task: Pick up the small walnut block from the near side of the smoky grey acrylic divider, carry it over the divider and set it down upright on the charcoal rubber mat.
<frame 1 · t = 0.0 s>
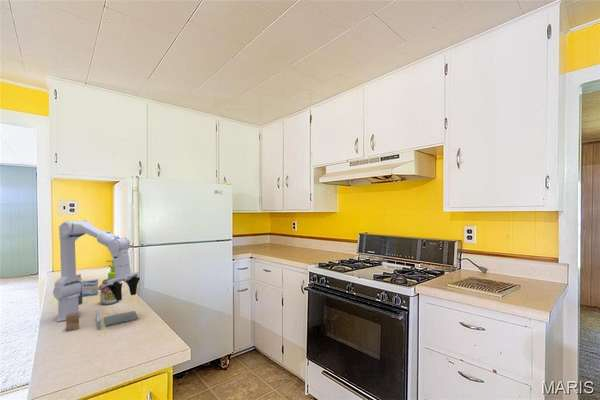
hand: (126, 297, 125), 11 cm above the counter, tool pointing down, fingers open, 7 cm apart
soap dispenser: (113, 295, 166), on the counter
walnut block: (72, 329, 119), on the counter
resting mat: (121, 318, 129), on the counter
medicine box: (89, 295, 168), on the counter
bottle: (75, 304, 151), on the counter
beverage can: (108, 303, 152), on the counter
acrylic divider: (98, 323, 124), on the counter
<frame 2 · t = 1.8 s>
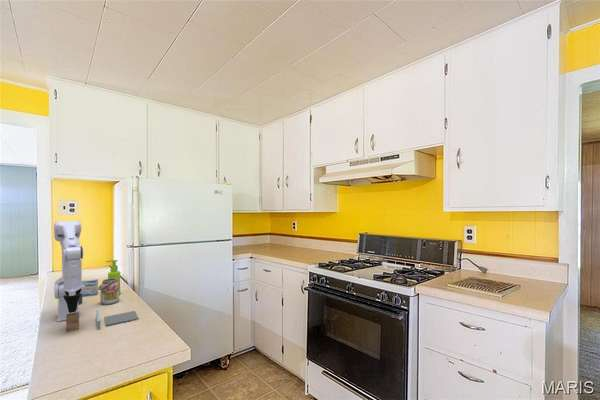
hand: (72, 309, 119), 8 cm above the counter, tool pointing down, fingers open, 7 cm apart
nothing on the counter moved.
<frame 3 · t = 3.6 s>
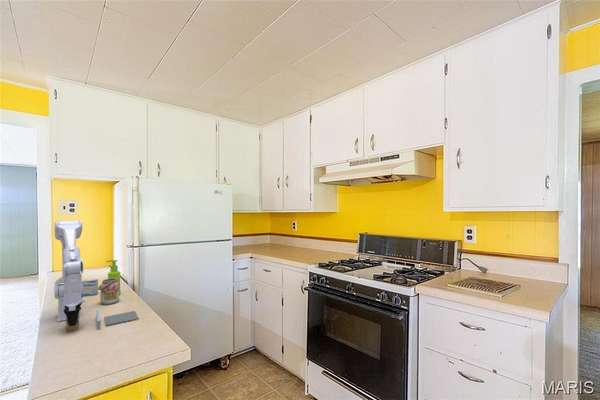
hand: (72, 323, 119), 2 cm above the counter, tool pointing down, fingers closed on walnut block, 4 cm apart
walnut block: (72, 329, 119), on the counter, touching gripper
everything else where it was.
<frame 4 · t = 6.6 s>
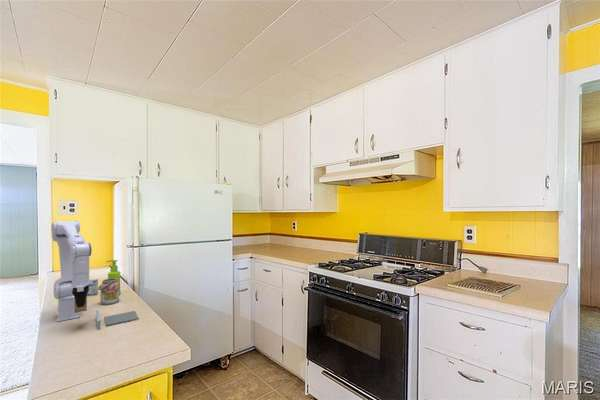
hand: (80, 305, 121), 9 cm above the counter, tool pointing down, fingers closed on walnut block, 4 cm apart
walnut block: (80, 310, 121), point 7 cm above the counter, touching gripper
everything else where it was.
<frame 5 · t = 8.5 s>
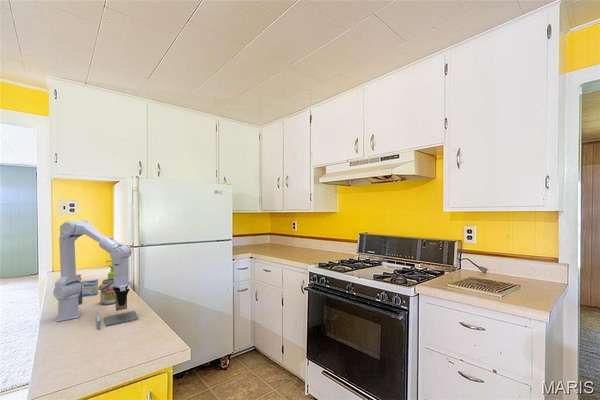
hand: (121, 304, 129), 6 cm above the counter, tool pointing down, fingers closed on walnut block, 4 cm apart
walnut block: (121, 308, 129), point 4 cm above the counter, touching gripper
everything else where it was.
when the fingers open (4 cm above the counter, at t = 9.9 s): walnut block stays where it is, resting on resting mat.
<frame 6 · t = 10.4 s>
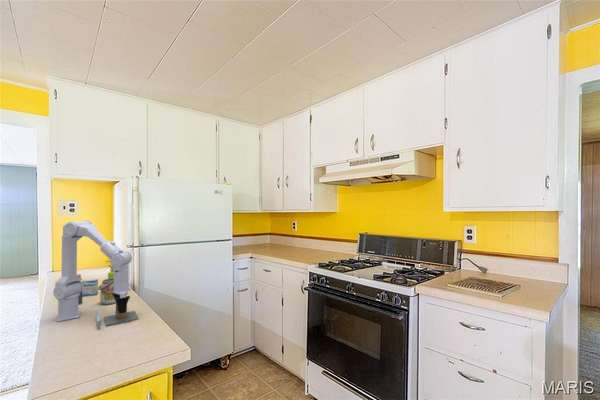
hand: (121, 310, 129), 4 cm above the counter, tool pointing down, fingers open, 7 cm apart
walnut block: (121, 317, 129), point 1 cm above the counter, touching resting mat
everything else where it was.
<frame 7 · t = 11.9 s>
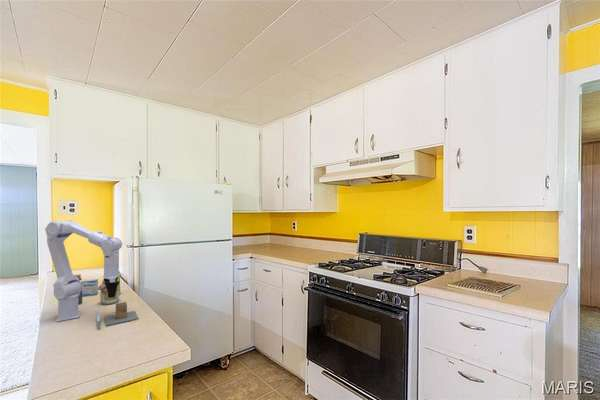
hand: (111, 295, 131), 10 cm above the counter, tool pointing down, fingers open, 7 cm apart
nothing on the counter moved.
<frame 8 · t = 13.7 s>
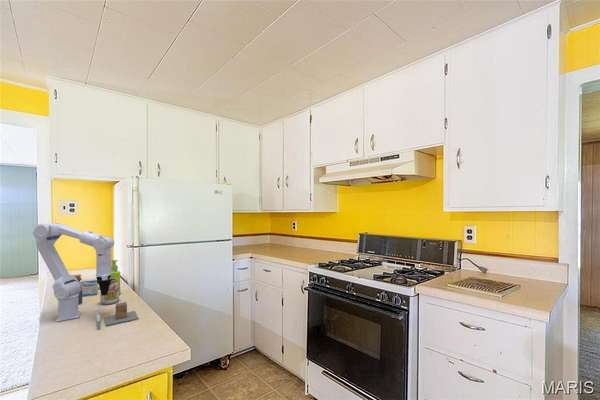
hand: (103, 293, 133), 10 cm above the counter, tool pointing down, fingers open, 7 cm apart
nothing on the counter moved.
at the end: walnut block inside the target area on the resting mat (0.0 cm from its centre), point 0.6 cm above the resting mat's base; walnut block tilted 0°; the gripper is holding nothing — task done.
